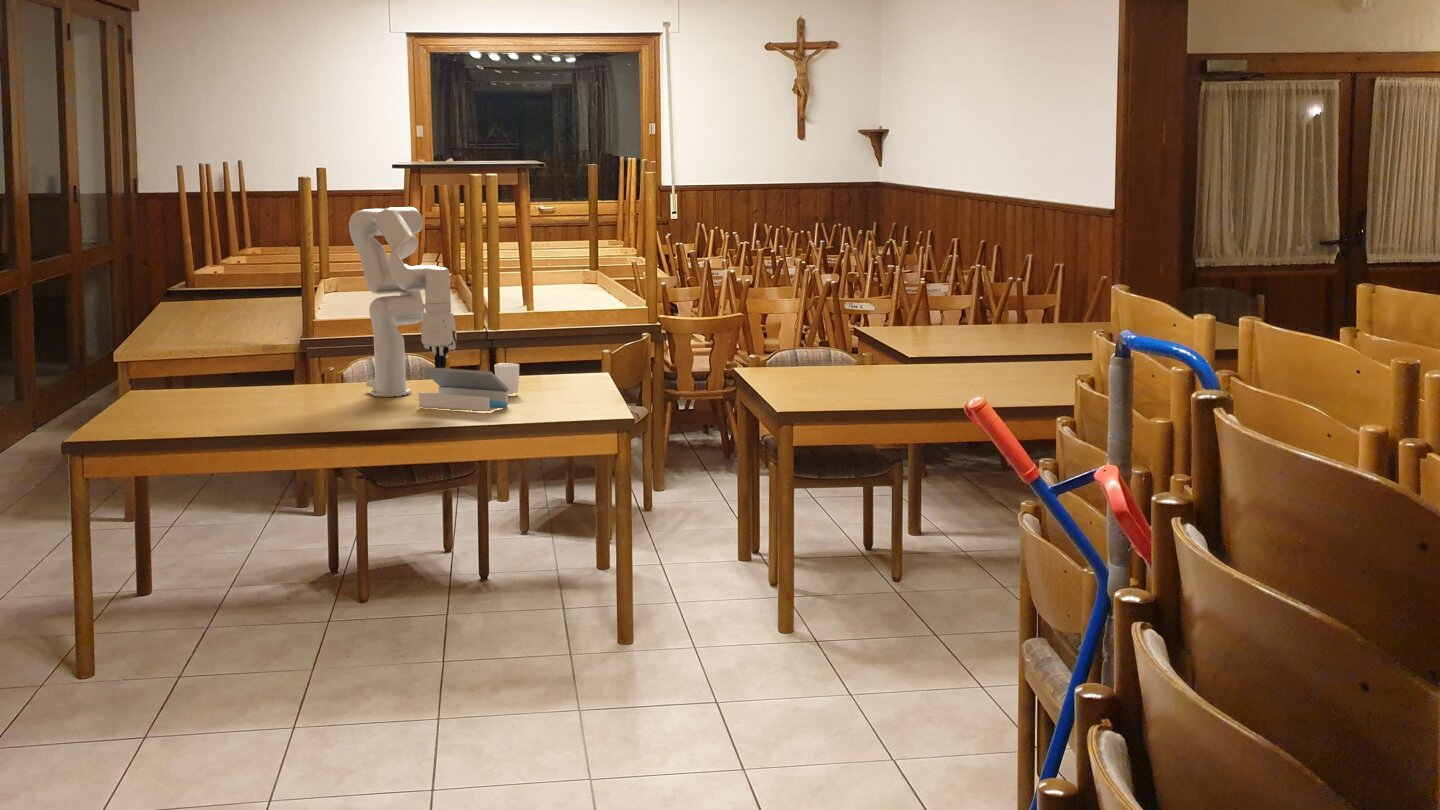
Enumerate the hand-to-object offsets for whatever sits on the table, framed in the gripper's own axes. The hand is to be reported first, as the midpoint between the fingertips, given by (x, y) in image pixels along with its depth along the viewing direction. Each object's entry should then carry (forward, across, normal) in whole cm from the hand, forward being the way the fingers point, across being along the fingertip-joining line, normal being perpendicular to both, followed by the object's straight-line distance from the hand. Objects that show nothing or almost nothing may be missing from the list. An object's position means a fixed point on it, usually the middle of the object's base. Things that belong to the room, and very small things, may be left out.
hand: (440, 368), depth 435 cm
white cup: (+12, +8, +27) cm, 30 cm away
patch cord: (+11, +7, +2) cm, 13 cm away
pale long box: (+12, +7, +2) cm, 14 cm away
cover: (+4, +7, +3) cm, 8 cm away
